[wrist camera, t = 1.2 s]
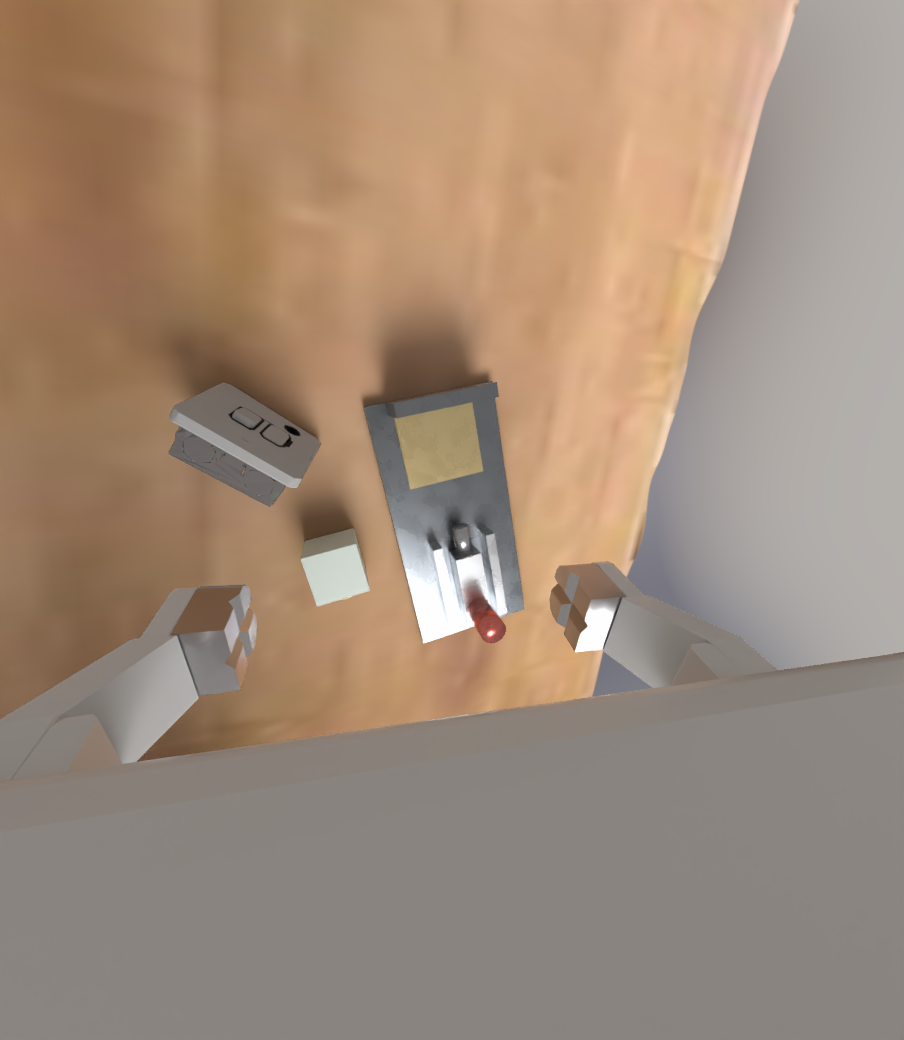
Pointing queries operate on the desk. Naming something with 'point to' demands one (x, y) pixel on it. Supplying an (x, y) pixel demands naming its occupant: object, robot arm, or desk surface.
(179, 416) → the electrical switch
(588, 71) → the desk surface
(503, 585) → the press
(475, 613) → the ram
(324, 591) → the block
